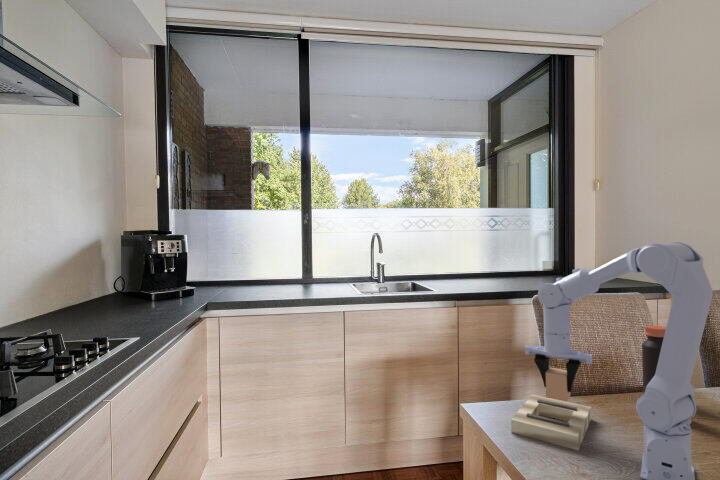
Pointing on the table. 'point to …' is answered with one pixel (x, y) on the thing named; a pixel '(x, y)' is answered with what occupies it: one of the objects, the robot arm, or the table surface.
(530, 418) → the slotted wooden holder
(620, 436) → the table surface
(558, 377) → the block
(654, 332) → the vinegar
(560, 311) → the robot arm
